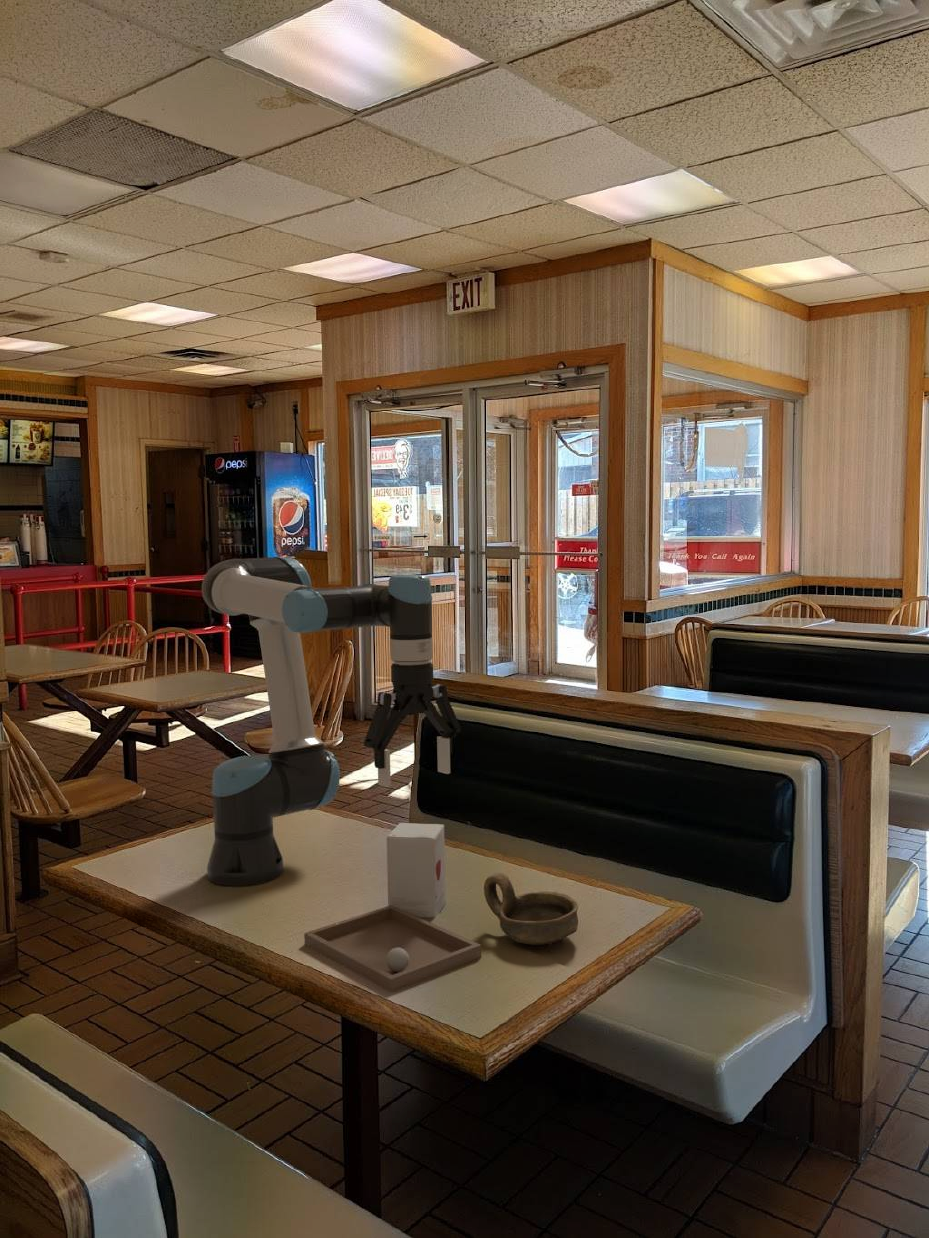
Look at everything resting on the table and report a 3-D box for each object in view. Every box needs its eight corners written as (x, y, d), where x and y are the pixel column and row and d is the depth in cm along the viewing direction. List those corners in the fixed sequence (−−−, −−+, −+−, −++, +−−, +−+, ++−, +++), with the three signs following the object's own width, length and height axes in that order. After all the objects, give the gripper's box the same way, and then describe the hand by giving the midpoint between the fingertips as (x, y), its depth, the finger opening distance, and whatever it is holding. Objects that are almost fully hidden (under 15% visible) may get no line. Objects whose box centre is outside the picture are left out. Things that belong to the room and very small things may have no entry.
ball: (381, 970, 157) (380, 948, 157) (400, 963, 160) (399, 941, 159) (395, 978, 154) (394, 955, 154) (414, 971, 157) (413, 948, 156)
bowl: (553, 964, 160) (552, 903, 159) (464, 939, 170) (463, 882, 169) (596, 935, 171) (595, 878, 170) (510, 913, 181) (509, 859, 180)
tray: (304, 947, 168) (304, 933, 168) (391, 918, 180) (391, 905, 180) (391, 995, 150) (391, 979, 150) (481, 959, 162) (481, 944, 162)
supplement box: (436, 921, 178) (434, 838, 177) (387, 918, 180) (384, 836, 179) (447, 902, 187) (445, 823, 186) (400, 899, 189) (398, 821, 188)
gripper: (366, 671, 169) (370, 795, 171) (478, 656, 185) (480, 770, 187) (341, 667, 174) (345, 787, 176) (451, 653, 191) (454, 764, 193)
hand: (415, 779), depth 182 cm, fingers open, 13 cm apart
